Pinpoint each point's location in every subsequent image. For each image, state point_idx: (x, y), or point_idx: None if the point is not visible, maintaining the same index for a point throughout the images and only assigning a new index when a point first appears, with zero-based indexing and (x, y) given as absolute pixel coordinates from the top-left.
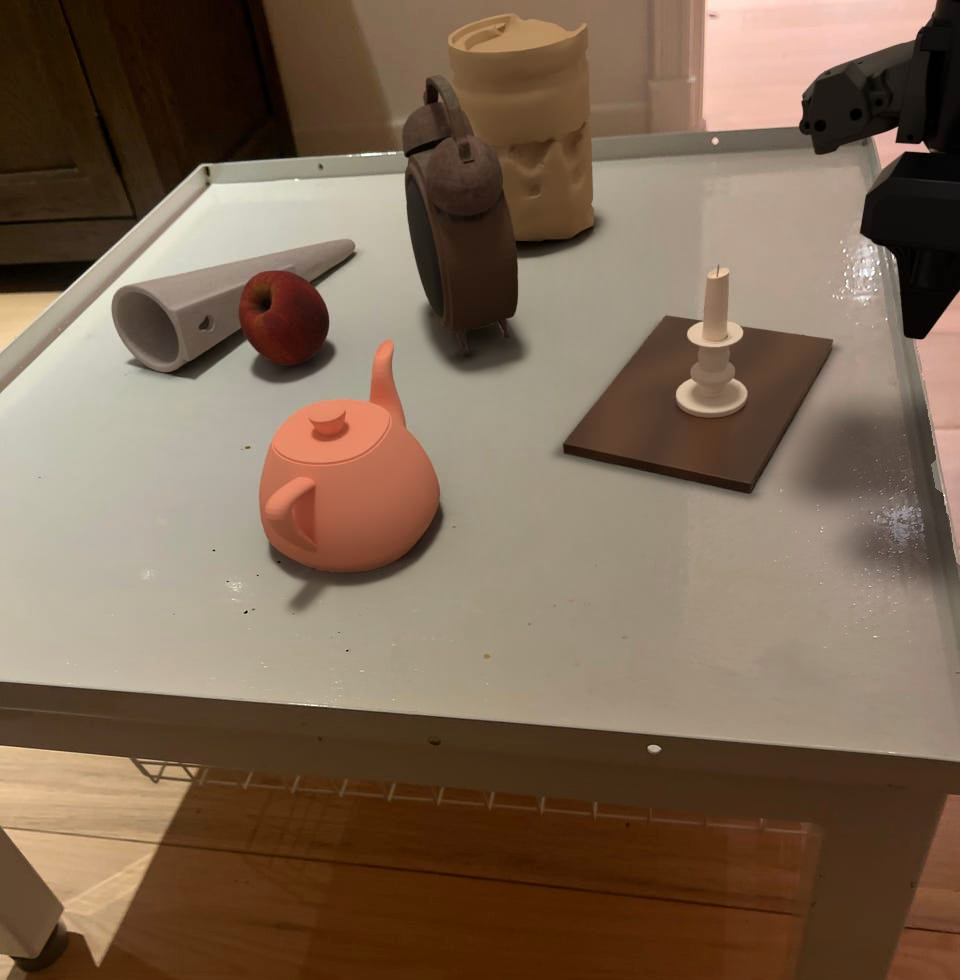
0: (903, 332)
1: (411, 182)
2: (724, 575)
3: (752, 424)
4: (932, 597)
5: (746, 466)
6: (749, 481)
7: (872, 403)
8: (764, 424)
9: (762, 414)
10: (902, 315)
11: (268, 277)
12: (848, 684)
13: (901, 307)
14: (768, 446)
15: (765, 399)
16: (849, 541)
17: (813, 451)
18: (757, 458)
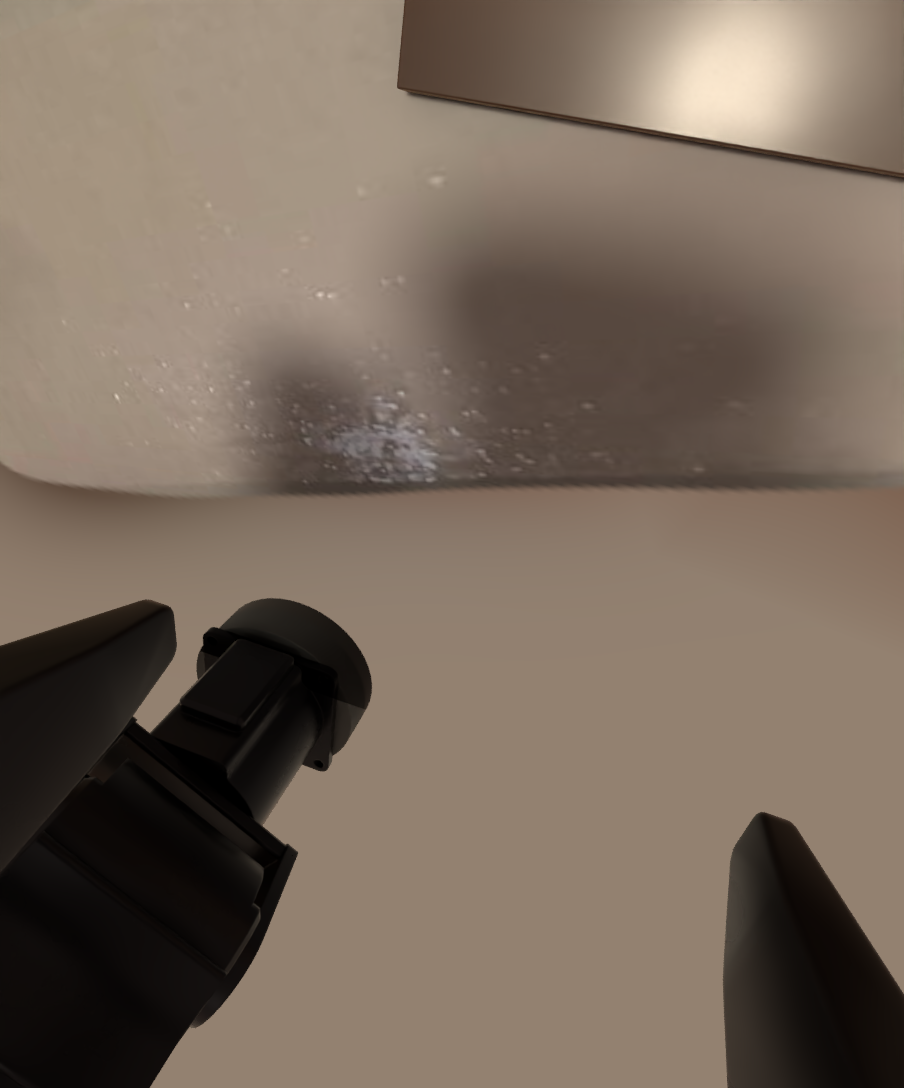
0: (135, 602)
1: None
2: (130, 95)
3: (708, 18)
4: (224, 481)
5: (468, 55)
6: (406, 82)
7: (868, 399)
8: (706, 66)
9: (774, 44)
10: (45, 631)
11: None
12: (22, 360)
13: (1, 645)
14: (577, 108)
15: (886, 32)
16: (308, 353)
17: (617, 249)
18: (512, 83)
